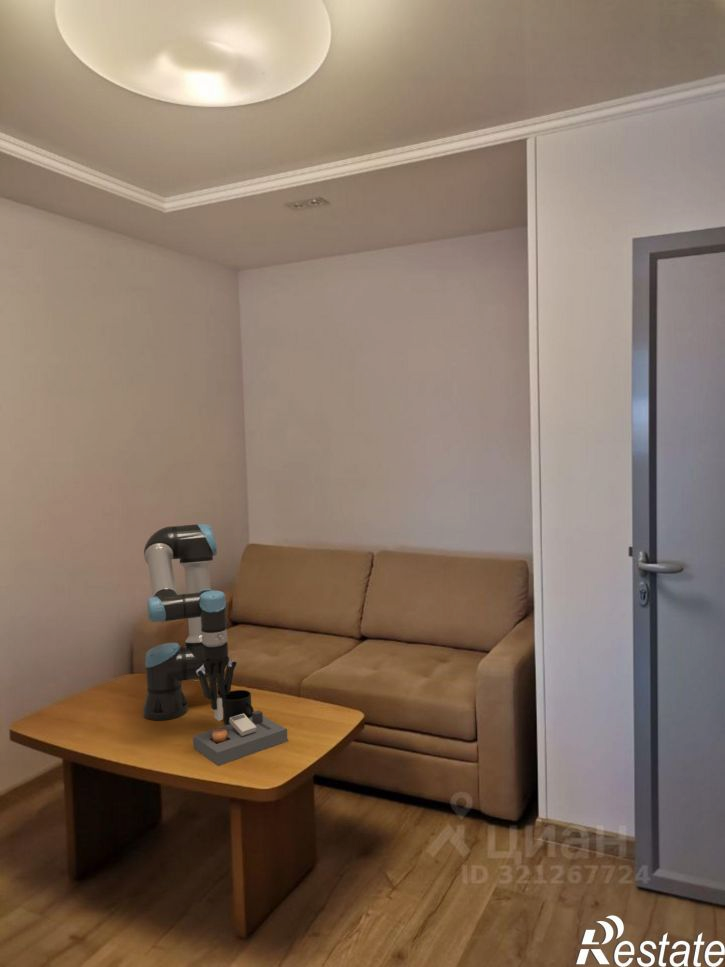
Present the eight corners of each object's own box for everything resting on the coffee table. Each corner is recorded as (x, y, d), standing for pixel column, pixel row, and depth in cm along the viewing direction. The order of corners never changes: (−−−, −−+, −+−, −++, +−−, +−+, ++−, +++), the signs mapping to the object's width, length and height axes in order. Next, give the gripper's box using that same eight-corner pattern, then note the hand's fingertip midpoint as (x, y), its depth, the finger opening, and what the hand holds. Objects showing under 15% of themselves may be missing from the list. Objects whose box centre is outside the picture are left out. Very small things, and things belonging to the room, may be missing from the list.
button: (210, 750, 223) (209, 731, 223) (223, 746, 226) (222, 727, 225) (217, 755, 220) (216, 736, 219) (230, 750, 222) (229, 732, 222)
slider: (252, 721, 234) (252, 712, 234) (258, 719, 236) (258, 710, 236) (256, 723, 232) (255, 714, 232) (262, 721, 234) (262, 712, 234)
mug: (244, 730, 238) (242, 703, 237) (217, 723, 245) (216, 696, 244) (263, 720, 246) (262, 694, 245) (237, 713, 252) (236, 688, 252)
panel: (193, 748, 226) (192, 732, 225) (260, 726, 241) (260, 711, 240) (218, 765, 213) (217, 748, 213) (287, 741, 228) (286, 725, 228)
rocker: (229, 722, 229) (229, 717, 228) (243, 717, 232) (243, 713, 231) (241, 736, 223) (242, 731, 222) (256, 731, 226) (256, 726, 226)
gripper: (200, 651, 213) (204, 728, 215) (240, 641, 221) (243, 716, 224) (189, 645, 219) (193, 720, 221) (228, 635, 227) (231, 709, 229)
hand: (218, 718), depth 222 cm, fingers closed
